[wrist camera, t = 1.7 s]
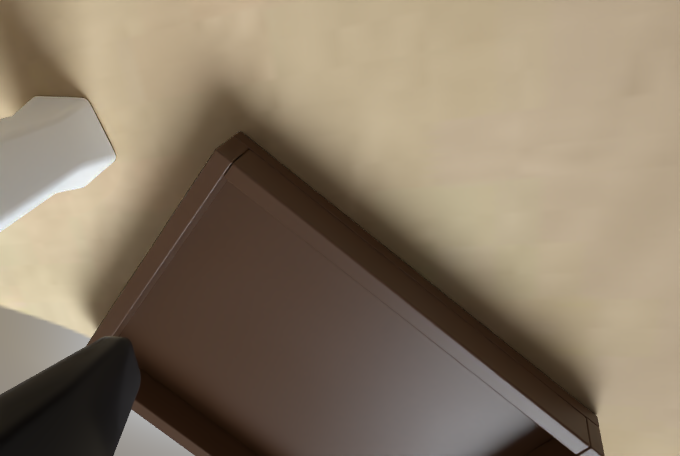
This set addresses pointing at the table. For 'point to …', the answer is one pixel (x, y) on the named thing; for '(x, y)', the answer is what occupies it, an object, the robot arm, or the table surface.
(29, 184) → the perfume bottle
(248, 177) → the tray
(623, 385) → the table surface
